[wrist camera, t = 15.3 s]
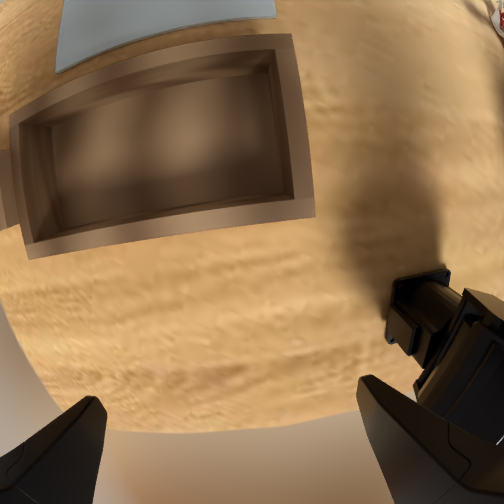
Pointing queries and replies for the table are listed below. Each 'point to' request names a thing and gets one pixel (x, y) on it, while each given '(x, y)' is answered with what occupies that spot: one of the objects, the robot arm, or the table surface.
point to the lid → (140, 22)
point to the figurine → (496, 17)
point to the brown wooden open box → (161, 148)
